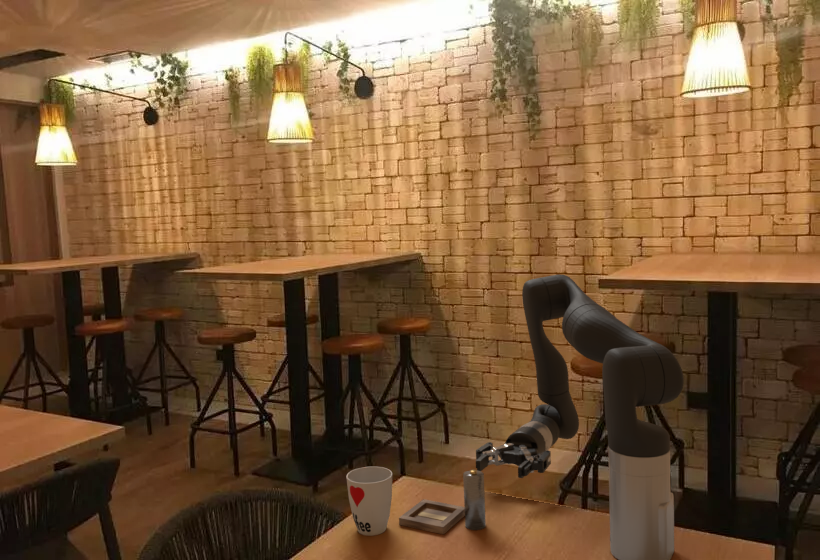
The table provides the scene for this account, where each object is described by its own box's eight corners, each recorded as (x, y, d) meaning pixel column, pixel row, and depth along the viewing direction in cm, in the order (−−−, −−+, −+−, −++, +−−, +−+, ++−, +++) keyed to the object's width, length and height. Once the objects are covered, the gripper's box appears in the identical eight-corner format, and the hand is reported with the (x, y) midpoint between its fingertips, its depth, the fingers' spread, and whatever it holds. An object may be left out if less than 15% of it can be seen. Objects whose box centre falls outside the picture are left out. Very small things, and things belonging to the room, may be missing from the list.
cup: (343, 525, 125) (340, 471, 124) (384, 515, 128) (381, 463, 127) (358, 543, 117) (355, 486, 117) (402, 532, 121) (399, 477, 120)
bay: (466, 514, 127) (466, 507, 127) (443, 534, 119) (443, 527, 119) (423, 505, 132) (423, 499, 132) (399, 524, 124) (398, 517, 124)
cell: (488, 523, 123) (486, 468, 122) (480, 531, 120) (478, 475, 119) (470, 519, 125) (468, 465, 124) (461, 527, 122) (459, 472, 121)
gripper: (497, 422, 149) (464, 445, 135) (561, 430, 141) (533, 455, 127) (498, 455, 149) (465, 482, 135) (562, 465, 142) (534, 494, 128)
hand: (498, 469), depth 131 cm, fingers open, 8 cm apart
